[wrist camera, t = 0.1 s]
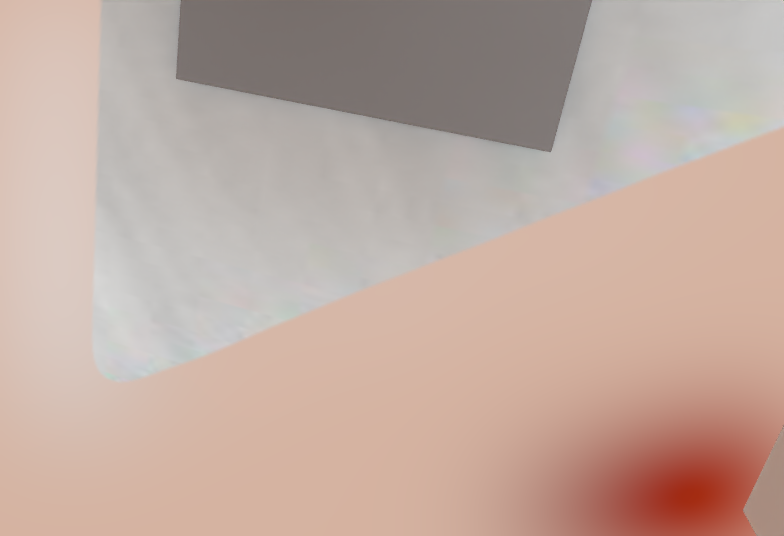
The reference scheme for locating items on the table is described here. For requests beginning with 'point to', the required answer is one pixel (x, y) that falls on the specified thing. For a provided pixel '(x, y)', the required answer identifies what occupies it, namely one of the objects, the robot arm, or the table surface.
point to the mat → (396, 59)
